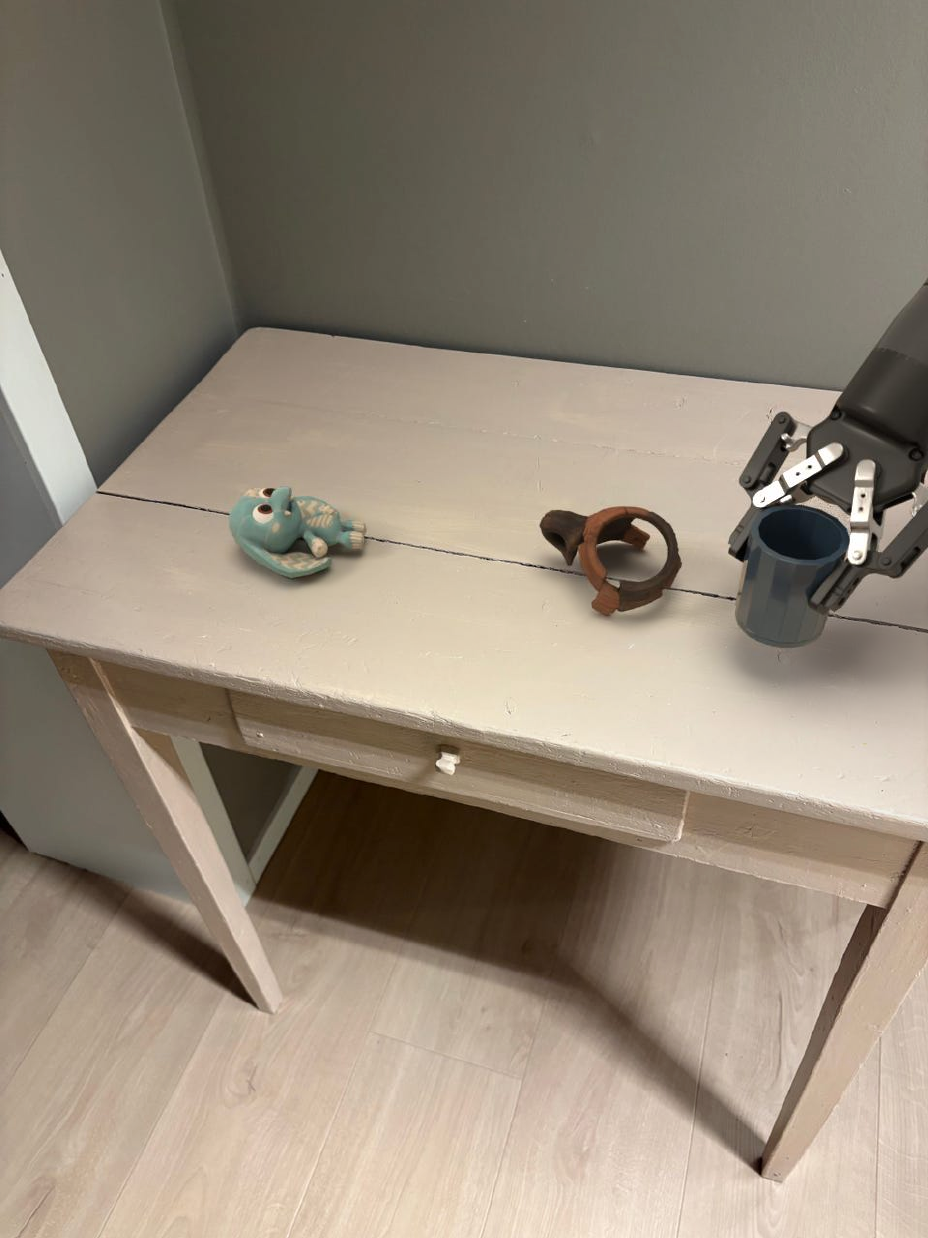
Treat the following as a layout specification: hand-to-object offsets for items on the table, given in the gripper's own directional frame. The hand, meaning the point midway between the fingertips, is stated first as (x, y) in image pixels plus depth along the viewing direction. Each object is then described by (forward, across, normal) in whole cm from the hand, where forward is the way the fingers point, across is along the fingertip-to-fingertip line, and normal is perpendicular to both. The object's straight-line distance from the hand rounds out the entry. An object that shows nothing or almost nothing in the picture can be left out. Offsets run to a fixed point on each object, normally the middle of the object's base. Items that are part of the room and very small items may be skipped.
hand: (775, 583), depth 67 cm
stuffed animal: (+20, -35, -7) cm, 41 cm away
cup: (+2, 0, +4) cm, 5 cm away
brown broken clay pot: (+7, -15, +5) cm, 17 cm away
